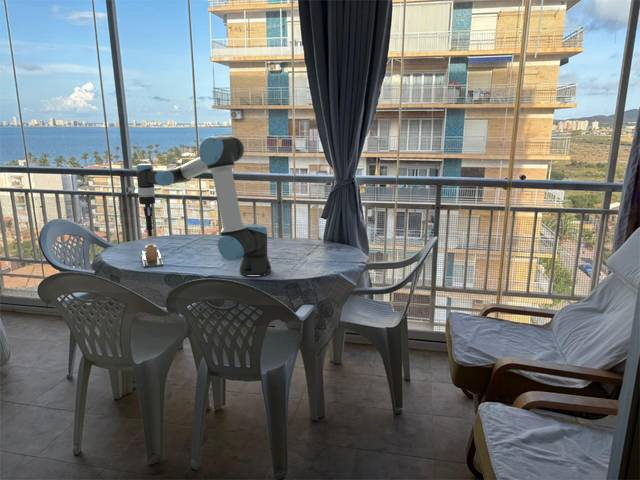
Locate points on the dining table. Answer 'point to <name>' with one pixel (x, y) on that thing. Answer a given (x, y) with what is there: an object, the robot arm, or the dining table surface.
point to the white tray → (152, 262)
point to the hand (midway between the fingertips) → (150, 241)
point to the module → (151, 252)
